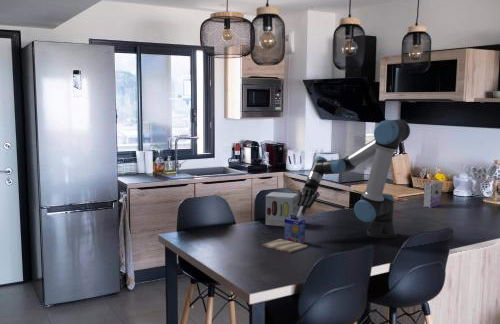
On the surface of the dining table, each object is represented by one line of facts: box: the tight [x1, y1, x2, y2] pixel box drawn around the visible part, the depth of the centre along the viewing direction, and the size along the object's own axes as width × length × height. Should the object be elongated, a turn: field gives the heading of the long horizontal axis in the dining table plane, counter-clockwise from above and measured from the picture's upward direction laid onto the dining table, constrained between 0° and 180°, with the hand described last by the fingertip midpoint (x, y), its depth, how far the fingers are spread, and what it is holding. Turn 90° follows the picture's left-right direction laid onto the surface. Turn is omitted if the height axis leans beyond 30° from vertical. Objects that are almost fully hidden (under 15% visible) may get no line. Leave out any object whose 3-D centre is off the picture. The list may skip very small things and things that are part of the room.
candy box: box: [422, 181, 443, 209], centre depth 355 cm, size 14×6×16 cm, turn 130°
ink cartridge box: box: [284, 215, 306, 244], centre depth 267 cm, size 10×6×14 cm, turn 51°
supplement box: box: [265, 191, 299, 228], centre depth 306 cm, size 17×13×18 cm
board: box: [261, 238, 308, 254], centre depth 259 cm, size 18×14×1 cm
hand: (298, 217), depth 272 cm, fingers closed
